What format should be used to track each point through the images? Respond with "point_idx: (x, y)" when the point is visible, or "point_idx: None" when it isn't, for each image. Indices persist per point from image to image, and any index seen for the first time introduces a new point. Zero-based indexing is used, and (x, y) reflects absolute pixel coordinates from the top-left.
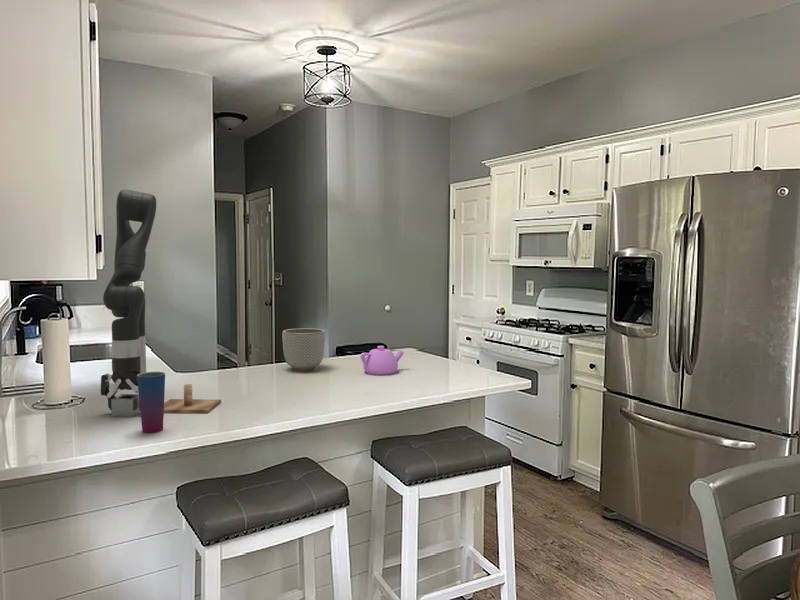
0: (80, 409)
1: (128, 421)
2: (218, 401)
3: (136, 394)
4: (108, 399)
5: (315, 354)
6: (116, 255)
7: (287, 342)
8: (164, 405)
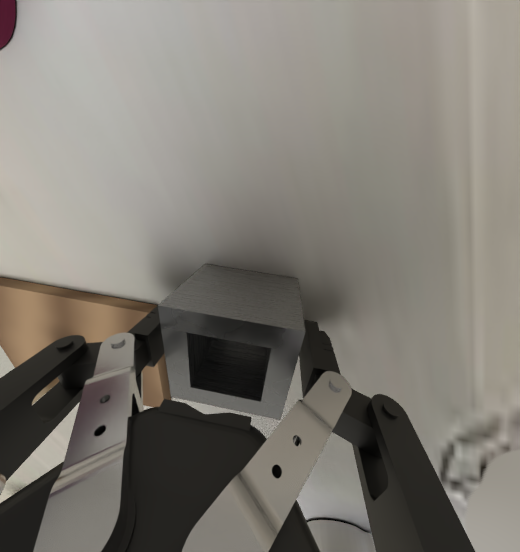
0: (449, 389)
1: (192, 190)
2: (12, 363)
3: (201, 399)
4: (336, 368)
5: None
6: None
7: None
8: None
